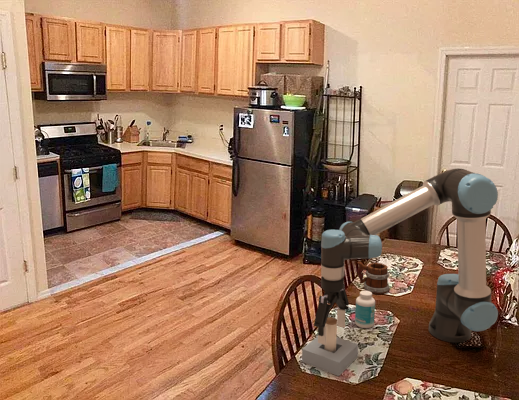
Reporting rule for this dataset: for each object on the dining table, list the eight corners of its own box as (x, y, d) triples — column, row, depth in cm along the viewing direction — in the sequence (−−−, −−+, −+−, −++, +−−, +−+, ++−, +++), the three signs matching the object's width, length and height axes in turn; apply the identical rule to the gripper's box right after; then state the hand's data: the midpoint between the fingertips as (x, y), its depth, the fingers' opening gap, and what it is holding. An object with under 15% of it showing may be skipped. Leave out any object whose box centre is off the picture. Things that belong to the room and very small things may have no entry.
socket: (357, 357, 165) (358, 344, 164) (338, 376, 154) (339, 362, 153) (322, 344, 173) (322, 332, 172) (302, 361, 162) (302, 348, 161)
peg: (337, 358, 164) (339, 319, 160) (332, 364, 161) (333, 323, 157) (327, 355, 166) (328, 316, 163) (322, 360, 163) (322, 320, 160)
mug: (390, 296, 212) (386, 264, 209) (358, 297, 216) (354, 266, 214) (392, 286, 222) (388, 256, 220) (361, 287, 227) (357, 257, 225)
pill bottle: (374, 329, 183) (376, 297, 180) (354, 328, 185) (356, 296, 182) (373, 320, 190) (375, 289, 187) (354, 319, 192) (356, 288, 189)
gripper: (339, 262, 168) (339, 317, 173) (303, 286, 149) (303, 347, 154) (359, 267, 164) (357, 323, 169) (324, 292, 145) (323, 354, 150)
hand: (331, 334), depth 161 cm, fingers open, 13 cm apart
